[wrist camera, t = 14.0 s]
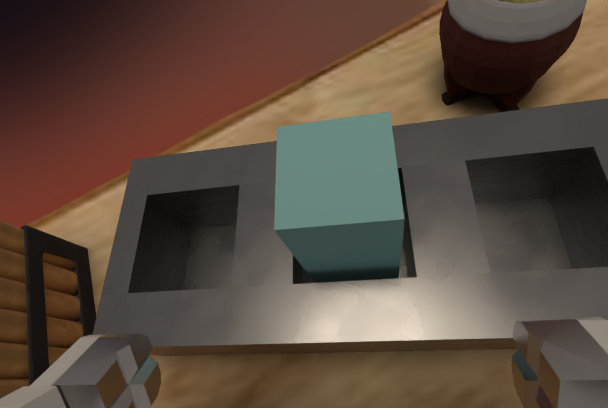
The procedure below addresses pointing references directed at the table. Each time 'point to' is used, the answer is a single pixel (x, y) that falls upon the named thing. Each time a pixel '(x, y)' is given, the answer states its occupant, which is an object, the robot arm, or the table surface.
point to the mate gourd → (503, 45)
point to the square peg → (340, 198)
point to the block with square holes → (414, 255)
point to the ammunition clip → (40, 302)
